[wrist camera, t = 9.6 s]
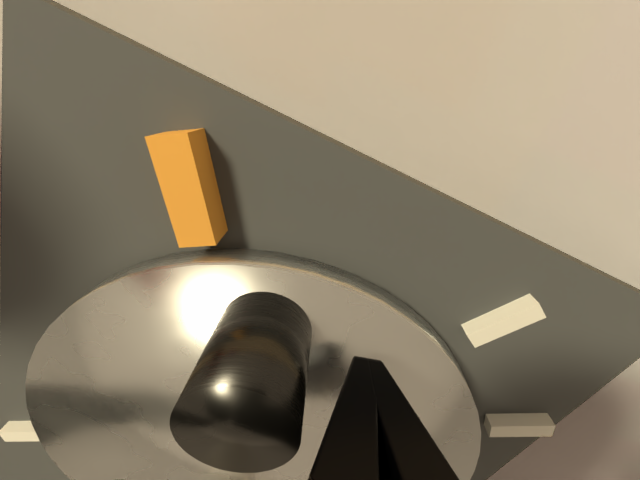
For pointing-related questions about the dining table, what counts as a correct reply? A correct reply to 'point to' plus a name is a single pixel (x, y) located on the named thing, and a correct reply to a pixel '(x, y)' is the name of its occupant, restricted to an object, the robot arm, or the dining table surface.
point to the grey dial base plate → (266, 227)
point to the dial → (230, 369)
